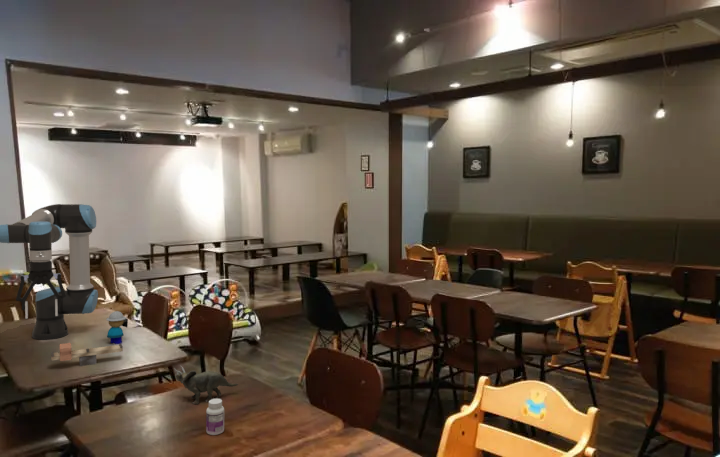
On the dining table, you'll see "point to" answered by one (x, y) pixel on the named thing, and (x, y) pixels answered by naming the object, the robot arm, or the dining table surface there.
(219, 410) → the pill bottle
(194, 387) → the dinosaur figurine
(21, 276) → the robot arm
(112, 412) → the dining table surface
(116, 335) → the toy
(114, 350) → the beam
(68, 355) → the pink block
